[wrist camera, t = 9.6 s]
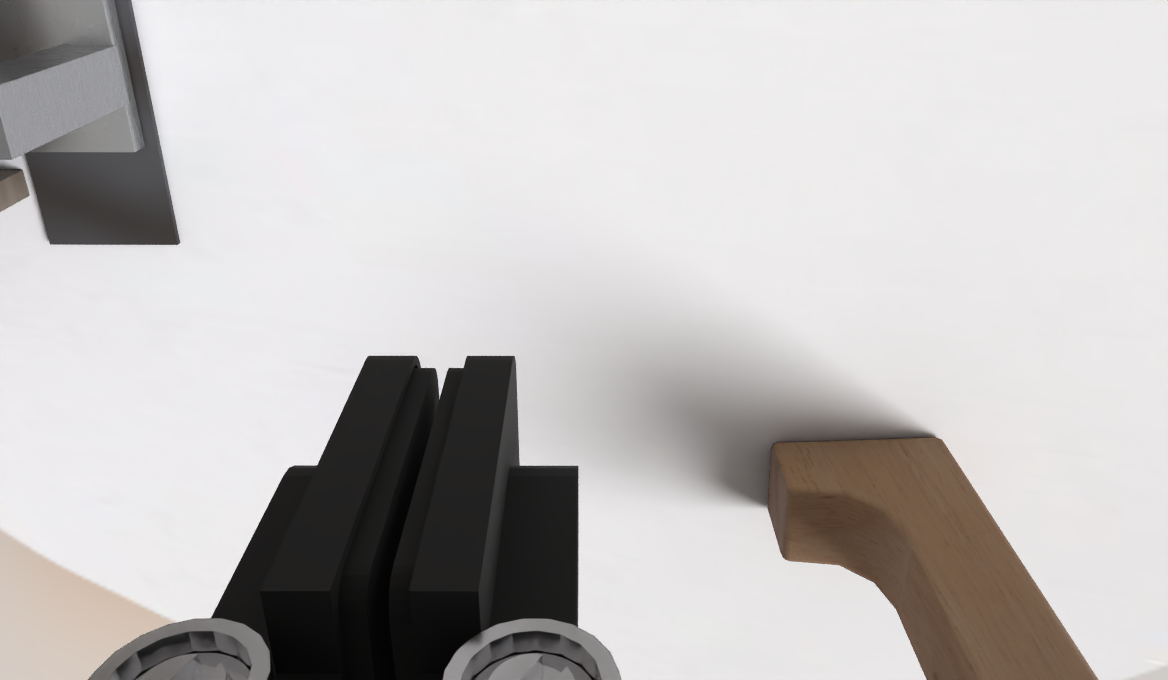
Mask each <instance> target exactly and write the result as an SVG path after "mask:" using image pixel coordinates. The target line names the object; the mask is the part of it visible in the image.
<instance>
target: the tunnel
mask: <svg viewBox="0 0 1168 680" xmlns="http://www.w3.org/2000/svg"><path fill="white" fill-rule="evenodd" d="M114 2H115V7H116V11H117V16H118V21H119V26H120V30H121V35H122V40H123V45H124V49H125V54H126V59H127V64H128V69H129V73H130V78H131V83H132V88H133V92H134V97H135V102H136V107H137V111H138V116H139V121H140V126H141V131H142V135H143V140H144V145H145V147H143V148H141V149H140V150H138V151H136V152H27V153H26V156H27V160H28V164H29V167H30V171H31V175H32V178H33V182H34V186H35V190H36V193H37V197H38V201H39V205H40V208H41V212H42V216H43V220H44V223H45V227H46V231H47V234H48V238H49V242H50V244H85V245H178V244H179V243H180V240H179V236H178V231H177V226H176V221H175V216H174V211H173V206H172V201H171V196H170V191H169V186H168V181H167V176H166V171H165V166H164V161H163V156H162V151H161V146H160V142H159V137H158V132H157V127H156V122H155V117H154V112H153V107H152V102H151V97H150V92H149V87H148V82H147V77H146V72H145V67H144V62H143V57H142V52H141V48H140V43H139V38H138V33H137V28H136V23H135V18H134V13H133V8H132V3H131V0H114ZM28 196H30V195H29V192H28V188H27V184H26V181H25V177H24V173H23V170H0V212H1V211H3V210H4V209H6V208H8V207H10V206H12V205H13V204H15V203H17V202H19V201H21V200H22V199H24V198H26V197H28Z"/></svg>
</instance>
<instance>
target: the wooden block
mask: <svg viewBox="0 0 1168 680" xmlns="http://www.w3.org/2000/svg"><path fill="white" fill-rule="evenodd" d="M768 511H769V514H770V518H771V521H772V525H773V528H774V531H775V535H776V538H777V542H778V545H779V548H780V552H781V554H782V556H783V558H784V559H785V560H788V561H796V562H808V563H820V564H832V565H840V566H842V567H844V568H846V569H848V570H850V571H852V572H854V573H856V574H858V575H860V576H862V577H864V578H866V579H868V580H870V581H872V582H874V583H875V584H876V586H877V587H878V588H879V589H880V590H881V592H882V593H883V594H884V595H885V596H886V598H887V599H888V600H889V601H890V602H891V604H892V605H893V606H894V607H895V608H896V610H897V613H898V615H899V617H900V619H901V622H902V624H903V626H904V629H905V631H906V633H907V636H908V638H909V640H910V642H911V645H912V647H913V649H914V652H915V654H916V656H917V658H918V661H919V663H920V665H921V668H922V670H923V672H924V675H925V677H926V679H927V680H1098V678H1097V677H1096V675H1095V674H1094V672H1093V671H1092V669H1091V668H1090V666H1089V665H1088V663H1087V662H1086V660H1085V659H1084V657H1083V655H1082V654H1081V652H1080V651H1079V649H1078V648H1077V646H1076V645H1075V643H1074V642H1073V640H1072V639H1071V637H1070V636H1069V634H1068V632H1067V631H1066V629H1065V628H1064V626H1063V625H1062V623H1061V622H1060V620H1059V619H1058V617H1057V616H1056V614H1055V613H1054V611H1053V609H1052V608H1051V606H1050V605H1049V603H1048V602H1047V600H1046V599H1045V597H1044V596H1043V594H1042V593H1041V591H1040V589H1039V588H1038V586H1037V585H1036V583H1035V582H1034V580H1033V579H1032V577H1031V576H1030V574H1029V573H1028V571H1027V570H1026V568H1025V566H1024V565H1023V563H1022V562H1021V560H1020V559H1019V557H1018V556H1017V554H1016V553H1015V551H1014V550H1013V548H1012V547H1011V545H1010V543H1009V542H1008V540H1007V539H1006V537H1005V536H1004V534H1003V533H1002V531H1001V530H1000V528H999V527H998V525H997V523H996V522H995V520H994V519H993V517H992V516H991V514H990V513H989V511H988V510H987V508H986V506H985V505H984V503H983V502H982V500H981V499H980V497H979V496H978V494H977V493H976V491H975V490H974V488H973V486H972V485H971V483H970V482H969V480H968V479H967V477H966V476H965V474H964V473H963V471H962V470H961V468H960V467H959V465H958V464H957V462H956V460H955V459H954V457H953V456H952V454H951V453H950V451H949V450H948V448H947V447H946V445H945V444H944V442H943V441H942V440H941V439H939V438H935V437H934V438H904V439H874V440H844V441H814V442H783V443H776V444H774V445H773V447H772V450H771V461H770V477H769V494H768Z"/></svg>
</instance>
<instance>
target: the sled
mask: <svg viewBox="0 0 1168 680" xmlns="http://www.w3.org/2000/svg"><path fill="white" fill-rule="evenodd" d="M143 147H145V145H144V140H143V135H142V131H141V126H140V121H139V116H138V111H137V107H136V102H135V97H134V92H133V88H132V83H131V78H130V73H129V69H128V64H127V59H126V54H125V49H124V45H123V40H122V35H121V30H120V26H119V21H118V16H117V11H116V7H115V2H114V0H0V160H12V159H14V158H16V157H19V156H21V155H23V154H25V153H27V152H136V151H138V150H140V149H141V148H143Z"/></svg>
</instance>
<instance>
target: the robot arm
mask: <svg viewBox="0 0 1168 680" xmlns="http://www.w3.org/2000/svg"><path fill="white" fill-rule="evenodd" d="M88 680H621V677H620V673H619V670H618V668H617V666H616V663H615V661H614V659H613V657H612V655H611V653H610V651H609V650H608V649H607V648H606V647H605V646H604V645H603V644H602V643H601V642H600V641H599V640H598V639H597V638H596V637H595V636H593V635H591V634H590V633H588V632H586V631H584V630H582V629H580V628H578V466H519V439H518V410H517V381H516V362H515V356H467V358H466V361H465V365H464V368H449V369H448V371H447V375H446V378H445V382H444V385H443V389H442V393H441V396H440V400H439V389H438V378H437V372H436V369H435V368H421V366H420V362H419V359H418V357H417V356H368V357H367V359H366V361H365V363H364V365H363V367H362V369H361V371H360V374H359V376H358V378H357V380H356V382H355V385H354V387H353V389H352V391H351V393H350V395H349V398H348V400H347V402H346V404H345V406H344V408H343V411H342V413H341V415H340V417H339V419H338V422H337V424H336V426H335V428H334V430H333V432H332V435H331V437H330V439H329V441H328V443H327V445H326V448H325V450H324V452H323V454H322V456H321V459H320V461H319V463H318V465H317V466H293V467H290V468H289V469H288V470H287V472H286V473H285V474H284V476H283V478H282V480H281V482H280V484H279V486H278V488H277V490H276V491H275V493H274V495H273V497H272V499H271V501H270V503H269V505H268V507H267V509H266V511H265V513H264V515H263V517H262V519H261V521H260V523H259V525H258V527H257V529H256V531H255V533H254V535H253V537H252V539H251V541H250V543H249V545H248V547H247V549H246V550H245V552H244V554H243V556H242V558H241V560H240V562H239V564H238V566H237V568H236V570H235V572H234V574H233V576H232V578H231V580H230V582H229V584H228V586H227V588H226V590H225V592H224V594H223V596H222V598H221V600H220V602H219V604H218V606H217V607H216V609H215V611H214V613H213V615H212V617H211V618H206V619H191V620H187V621H182V622H177V623H172V624H168V625H165V626H163V627H160V628H158V629H156V630H153V631H151V632H148V633H146V634H143V635H141V636H139V637H138V638H136V639H134V640H133V641H131V642H130V643H128V644H127V645H125V646H123V647H122V648H120V649H119V650H117V651H115V652H114V653H113V654H112V655H111V656H110V657H109V658H108V659H107V660H106V661H105V662H104V663H103V664H102V665H101V666H100V667H99V668H98V669H97V670H96V671H95V672H94V673H93V674H92V675H91V677H90V678H89V679H88Z"/></svg>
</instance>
